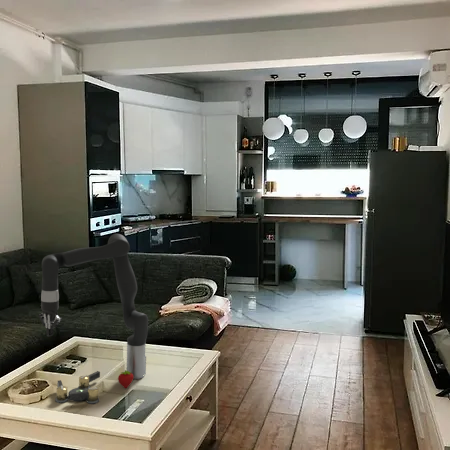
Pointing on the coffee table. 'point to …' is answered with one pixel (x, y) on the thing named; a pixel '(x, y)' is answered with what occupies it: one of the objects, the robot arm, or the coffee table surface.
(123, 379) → the strawberry
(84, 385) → the footscrew back
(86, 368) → the coffee table surface
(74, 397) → the foot screw
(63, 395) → the foot screw
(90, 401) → the levelling base
